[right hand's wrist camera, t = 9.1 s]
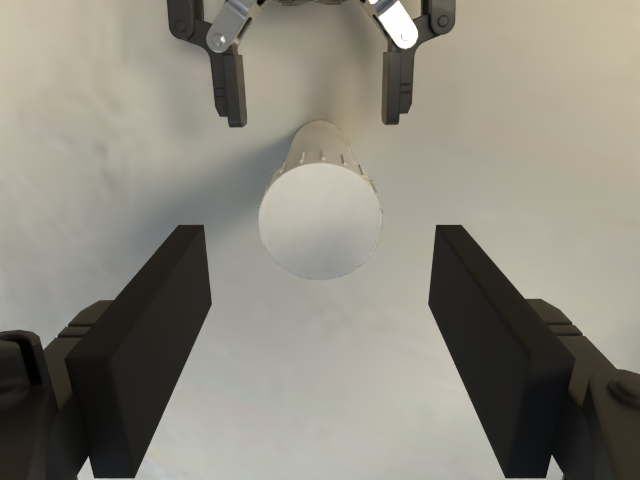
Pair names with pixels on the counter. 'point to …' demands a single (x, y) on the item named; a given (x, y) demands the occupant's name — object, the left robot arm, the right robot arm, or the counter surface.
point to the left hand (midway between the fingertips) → (314, 124)
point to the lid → (319, 216)
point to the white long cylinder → (319, 139)
